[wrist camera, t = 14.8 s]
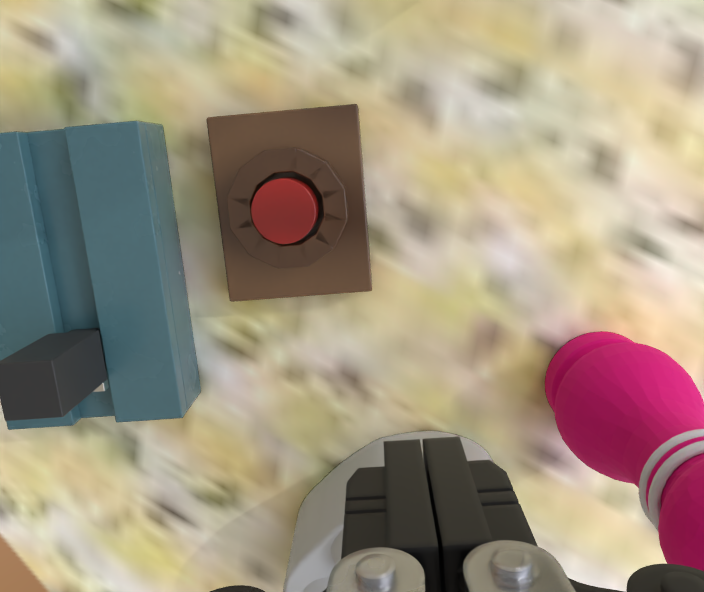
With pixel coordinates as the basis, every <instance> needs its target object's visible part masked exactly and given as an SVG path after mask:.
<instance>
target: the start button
mask: <svg viewBox="0 0 704 592" xmlns="http://www.w3.org/2000/svg"><path fill="white" fill-rule="evenodd" d="M318 211H319V208H318V201H317V198H316V196H315V194H314V192H313V191H312V189H311V188H310V187H309V186H308V185H307V184H305V183H304V182H302V181H300V180H298V179H295V178H289V177H284V178H279V179H275V180H272V181H269V182H267V183H266V184H264V185H263V186H262V187H261V188H260V189H259V190H258V191H257V193H256V194H255V196H254V198H253V201H252V205H251V215H252V220H253V223H254V225H255V227H256V229H257V230H258V231H259V233H260V234H261V235H262V236H264V237H265V238H266V239H268V240H270V241H272V242H275V243H279V244H289V243H294V242H296V241H299V240H300V239H302V238H303V237H305V236H306V235H307V234H308V233H309V231H310V230H311V229H312V228H313V226H314V225H315V223H316V220H317V217H318Z"/></svg>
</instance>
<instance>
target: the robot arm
mask: <svg viewBox="0 0 704 592" xmlns="http://www.w3.org/2000/svg"><path fill="white" fill-rule="evenodd" d="M383 443H384V465H385V466H380V467H364V468H358V469H357V470H356V471H355V473H354V474H353V475H352V476H351V477H350V479H349V480H348V481H347V484H346V501H345V515H344V525H343V539H342V553H341V560H340V561H339V562H338V563H337V564H336V565H335V566H334V567H333V569H332V571H331V573H330V576H329V580H328V585H327V588H326V589H325V590H324V591H323V592H623V591H617V590H611V589H605V588H599V587H594V586H589V585H586V584H582V583H579V582H576V581H574V580H572V579H569V578H567V576H566V574H565V572H564V571H563V569H562V567H561V566H560V564H559V563H558V561H557V560H556V559H555V558H554V557H553V556H552V555H551V554H550V553H548V552H547V551H545V550H544V549H542V548H540V547H538V546H537V543H536V541H535V539H534V536H533V534H532V532H531V529H530V527H529V525H528V522H527V520H526V518H525V515H524V513H523V511H522V508H521V506H520V504H519V503H518V499H517V497H516V494H515V492H514V491H513V487H512V485H511V483H510V480H509V478H508V476H507V473H506V472H505V471H504V470H502V469H501V468H500V467H499V466H497V465H496V464H495V463H493V462H492V461H491V460H474V461H467V458H466V455H465V452H464V449H463V445H462V442H461V439H460V437H459V436H456V437H440V438H425V439H423V441H422V443H423V455H422V449H421V443H420V439H411V440H396V441H383ZM210 592H265V591H263V590H261V589H259V588H255V587H252V586H243V585H240V586H228V587H223V588H219V589H216V590H213V591H210ZM627 592H704V571H702V570H699V569H696V568H692V567H688V566H683V565H676V564H655V565H650V566H646V567H643V568H641V569H639V570H637V571H636V572H634V573H633V574H632V575H631V576H630V578H629V580H628V583H627Z"/></svg>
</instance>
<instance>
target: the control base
mask: <svg viewBox="0 0 704 592" xmlns="http://www.w3.org/2000/svg"><path fill="white" fill-rule="evenodd" d="M89 328H99V330H100V336H101V342H102V347H103V353H104V359H105V364H106V374H107V380H106V381H105V382H104V383H102V384H101V385H100V386H99V387H98V388H97V389H95V390H94V391H93V392H92V393H91V394H89V395H88V396H87V397H86V398H85V399H84V400H82V401H81V402H80V403H79V404H78V405H77V406H75V407H74V408H73V409H72V410H71V411H69V412H68V413H67V414H66V415H65V416H64V417H57V418H42V419H27V420H13V421H6V422H7V427H8V429H9V430H11V429H26V428H41V427H56V426H71V425H74V424H75V423H76V422H78V421H79V420H80V419H81V418H88V417H103V416H115V419H116V422H130V421H144V420H159V419H174V418H183V416H184V415H185V413H186V412H187V410H188V409H189V408H190V406H191V405H192V404H193V402H194V401H195V399H196V398H197V397H198V395H199V394H200V392H201V388H200V381H199V374H198V367H197V360H196V353H195V346H194V339H193V332H192V325H191V318H190V311H189V304H188V297H187V290H186V283H185V276H184V270H183V263H182V256H181V249H180V242H179V235H178V228H177V221H176V214H175V207H174V200H173V193H172V186H171V179H170V172H169V165H168V158H167V151H166V144H165V137H164V130H163V125H161V124H155V123H148V122H142V121H128V122H117V123H106V124H95V125H83V126H72V127H65V128H64V129H57V130H46V131H35V132H5V133H0V361H1V360H2V359H4V358H6V357H8V356H10V355H11V354H13V353H15V352H17V351H19V350H20V349H22V348H24V347H26V346H28V345H29V344H31V343H33V342H35V341H37V340H38V339H40V338H42V337H44V336H46V335H47V334H53V333H66V332H69V331H71V330H75V329H89Z"/></svg>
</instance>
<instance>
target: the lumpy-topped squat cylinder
mask: <svg viewBox="0 0 704 592" xmlns="http://www.w3.org/2000/svg"><path fill="white" fill-rule="evenodd" d="M456 436H459V435H455V434H451V433H446V432H439V431H418V432H410V433H403V434H397V435H392V436H387V437H383V438H380V439H377V440H375V441H373V442H371V443H370V444H368V445H366V446H365V447H363V448H362V449H360V450H359V451H357V452H356V453H354V454H353V455H352V456H350V457H349V458H347V459H346V460H345V461H343V462H342V463H341V464H340V465H338V466H337V467H336V468H335V469H333V470H332V471H331V472H330V473H329V474H328V475H327V476H326V477H325V478H324V479H323V480H322V481H321V482H320V483H318V484H317V485H316V486H315V487H314V488H313V489H312V490H311V491H310V492H309V494H308V495H307V496H306V498H305V499H304V501H303V503H302V504H301V507H300V509H299V513H298V517H297V522H296V527H295V532H294V537H293V542H292V547H291V552H290V557H289V562H288V567H287V573H286V578H285V582H284V589H283V592H323V591H324V590H325V589H326V588H327V585H328V580H329V576H330V573H331V571H332V569H333V567H334V566H335V565H336V564H337V563H338V562H339V561H340V560H341V553H342V539H343V525H344V515H345V501H346V484H347V481H348V480H349V479H350V477H351V476H352V475H353V474H354V473H355V471H356V470H357V469H358V468H364V467H380V466H385V465H384V443H383V441H396V440H411V439H420V443H421V449H422V455H423V443H422V441H423V439H425V438H440V437H456ZM459 437H460V439H461V442H462V445H463V449H464V452H465V455H466V458H467V461H474V460H491V461H492V462H493V460H492V459H491V457H490V456H489V454H488V453H487V452H486V451H485V450H484V449H483V448H482V447H481V446H480V445H478V444H477V443H475V442H474V441H472V440H470V439H468V438H465V437H462V436H459ZM493 463H494V462H493Z"/></svg>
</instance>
